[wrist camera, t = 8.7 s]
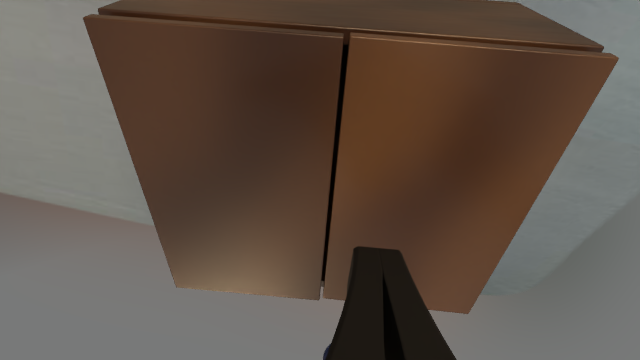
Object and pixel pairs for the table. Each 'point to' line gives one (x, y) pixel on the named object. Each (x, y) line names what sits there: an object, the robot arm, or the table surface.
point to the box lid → (449, 153)
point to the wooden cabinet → (260, 118)
